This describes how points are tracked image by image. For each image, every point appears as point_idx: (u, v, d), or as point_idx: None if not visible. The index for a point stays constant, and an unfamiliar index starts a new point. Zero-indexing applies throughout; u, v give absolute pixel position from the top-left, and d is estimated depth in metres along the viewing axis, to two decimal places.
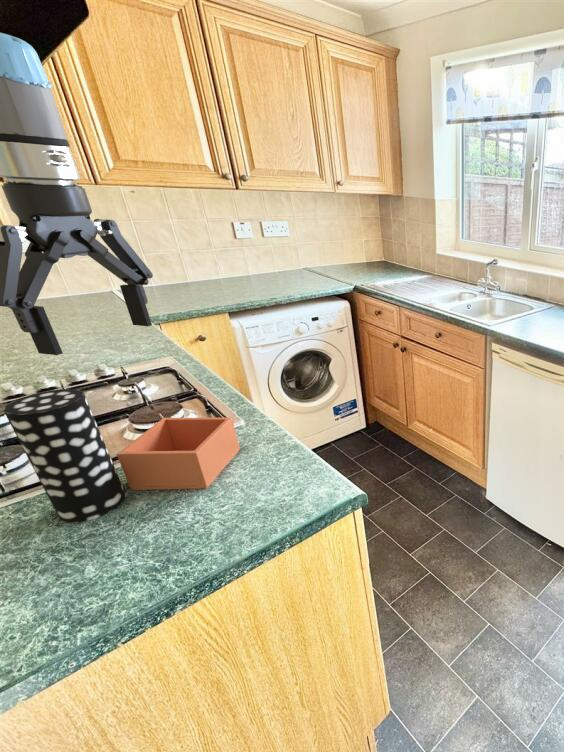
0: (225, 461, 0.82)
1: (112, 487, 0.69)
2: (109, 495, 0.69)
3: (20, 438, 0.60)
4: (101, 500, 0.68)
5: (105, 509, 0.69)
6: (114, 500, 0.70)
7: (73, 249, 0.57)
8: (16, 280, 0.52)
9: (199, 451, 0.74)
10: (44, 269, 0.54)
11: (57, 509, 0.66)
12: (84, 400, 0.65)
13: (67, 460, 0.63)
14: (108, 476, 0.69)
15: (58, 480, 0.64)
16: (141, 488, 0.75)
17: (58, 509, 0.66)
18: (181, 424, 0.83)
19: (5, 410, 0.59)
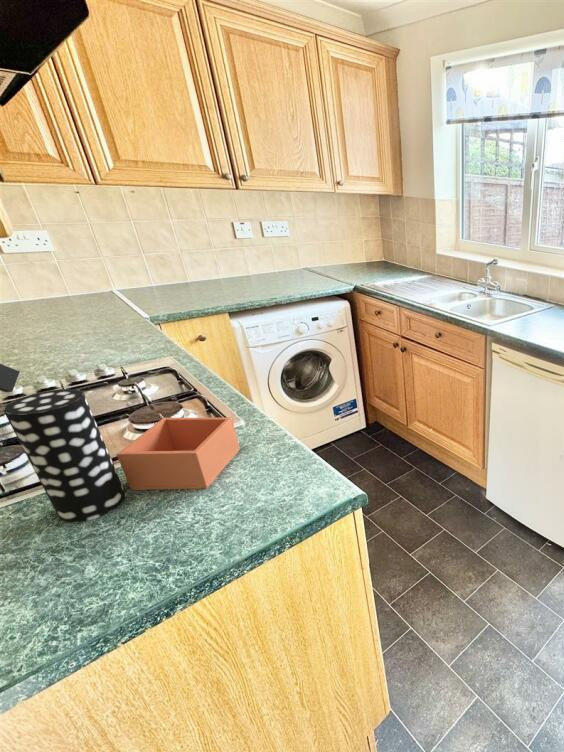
0: (225, 461, 0.82)
1: (112, 487, 0.69)
2: (109, 495, 0.69)
3: (20, 438, 0.60)
4: (101, 500, 0.68)
5: (105, 509, 0.69)
6: (114, 500, 0.70)
7: None
8: None
9: (199, 451, 0.74)
10: None
11: (57, 509, 0.66)
12: (84, 400, 0.65)
13: (67, 460, 0.63)
14: (108, 476, 0.69)
15: (58, 480, 0.64)
16: (141, 488, 0.75)
17: (58, 509, 0.66)
18: (181, 424, 0.83)
19: (5, 410, 0.59)
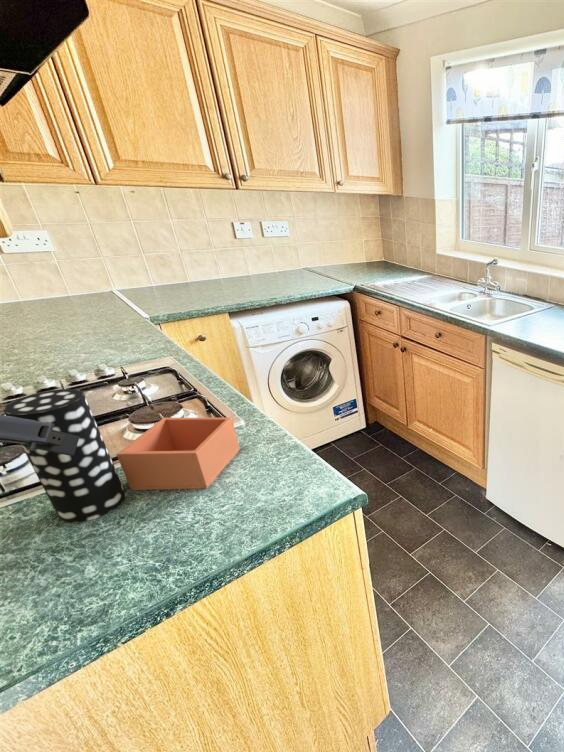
0: (225, 461, 0.82)
1: (112, 487, 0.69)
2: (109, 495, 0.69)
3: None
4: (101, 500, 0.68)
5: (105, 509, 0.69)
6: (114, 500, 0.70)
7: None
8: None
9: (199, 451, 0.74)
10: None
11: (57, 509, 0.66)
12: (84, 400, 0.64)
13: (67, 460, 0.63)
14: (108, 476, 0.69)
15: (58, 480, 0.64)
16: (141, 488, 0.75)
17: (58, 509, 0.66)
18: (181, 424, 0.83)
19: (5, 410, 0.59)
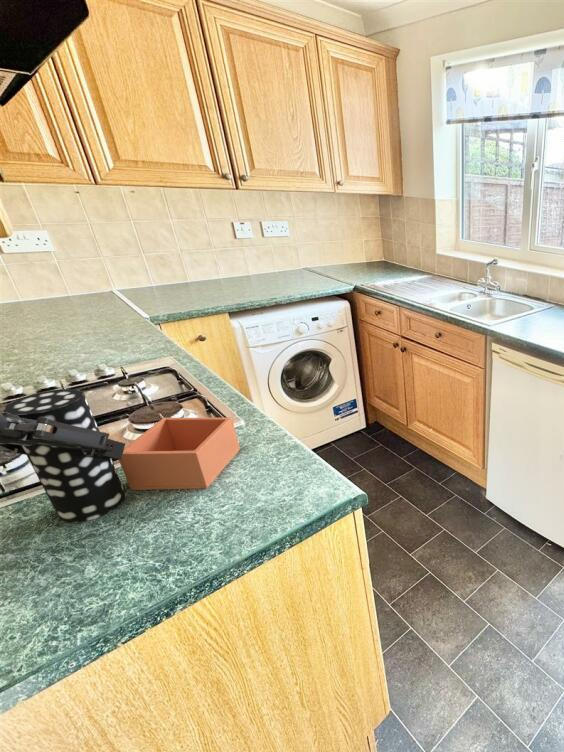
0: (225, 461, 0.82)
1: (112, 487, 0.69)
2: (109, 495, 0.69)
3: None
4: (101, 500, 0.68)
5: (105, 509, 0.69)
6: (114, 500, 0.70)
7: None
8: None
9: (199, 451, 0.74)
10: None
11: (57, 509, 0.66)
12: (84, 400, 0.65)
13: (67, 460, 0.63)
14: (108, 476, 0.69)
15: (58, 480, 0.64)
16: (141, 488, 0.75)
17: (58, 509, 0.66)
18: (181, 424, 0.83)
19: (5, 410, 0.59)
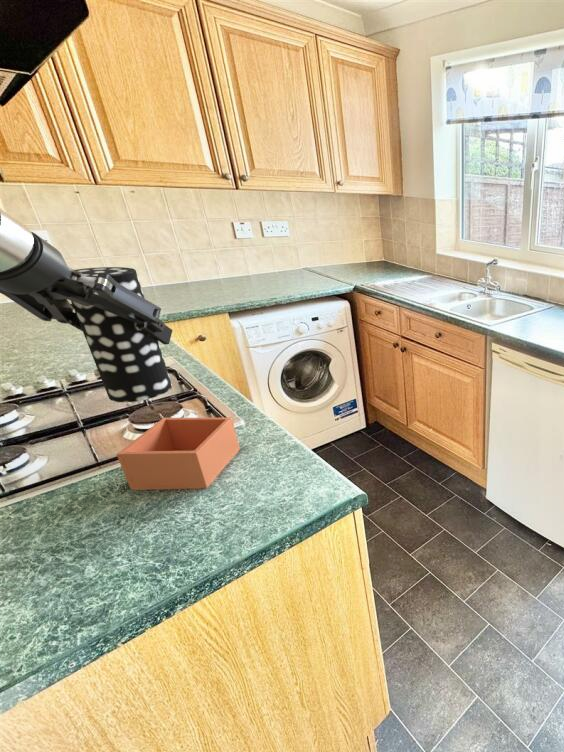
0: (225, 461, 0.82)
1: (160, 371, 0.70)
2: (157, 378, 0.69)
3: (76, 305, 0.61)
4: (150, 381, 0.68)
5: (153, 392, 0.69)
6: (162, 384, 0.70)
7: None
8: (35, 310, 0.60)
9: (199, 451, 0.74)
10: (50, 306, 0.59)
11: (108, 386, 0.66)
12: (136, 275, 0.65)
13: (120, 332, 0.64)
14: (156, 358, 0.69)
15: (111, 353, 0.64)
16: (141, 488, 0.75)
17: (109, 386, 0.66)
18: (181, 424, 0.83)
19: None
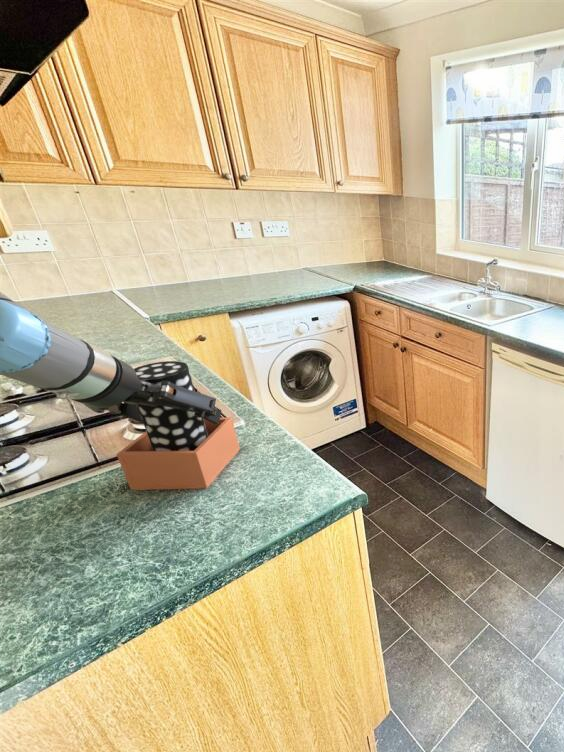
0: (225, 461, 0.82)
1: None
2: None
3: None
4: None
5: None
6: None
7: None
8: (95, 407, 0.68)
9: (199, 451, 0.74)
10: (112, 406, 0.68)
11: None
12: (188, 370, 0.74)
13: (176, 421, 0.73)
14: (203, 438, 0.78)
15: (167, 439, 0.73)
16: (141, 488, 0.75)
17: None
18: None
19: None
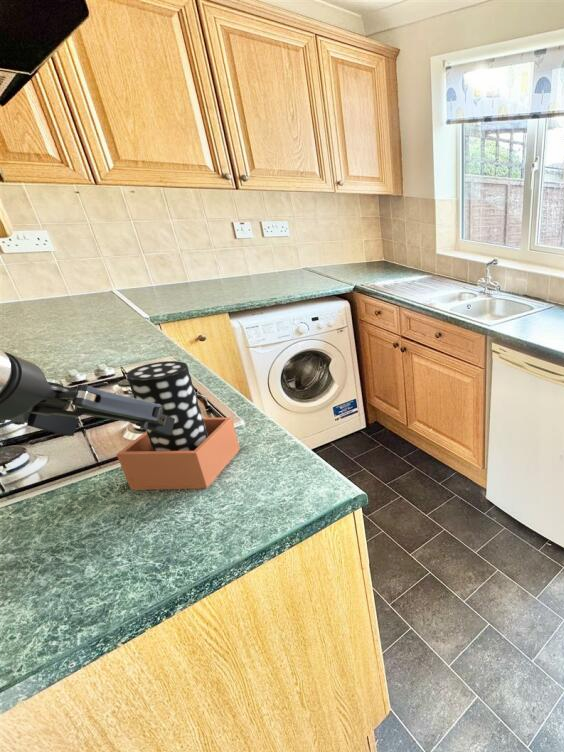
0: (225, 461, 0.82)
1: None
2: None
3: None
4: None
5: None
6: None
7: None
8: None
9: (199, 451, 0.74)
10: None
11: None
12: (188, 370, 0.74)
13: (175, 421, 0.73)
14: (203, 438, 0.78)
15: (167, 439, 0.73)
16: (141, 488, 0.75)
17: None
18: None
19: (128, 376, 0.69)
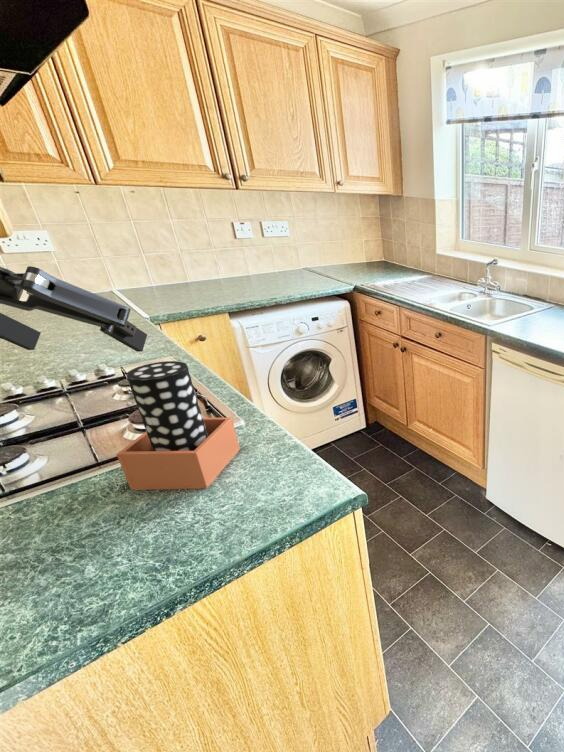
0: (225, 461, 0.82)
1: None
2: None
3: (139, 401, 0.70)
4: None
5: None
6: None
7: None
8: None
9: (199, 451, 0.74)
10: None
11: None
12: (188, 370, 0.74)
13: (175, 421, 0.73)
14: (203, 438, 0.78)
15: (167, 439, 0.73)
16: (141, 488, 0.75)
17: None
18: None
19: (128, 376, 0.69)
